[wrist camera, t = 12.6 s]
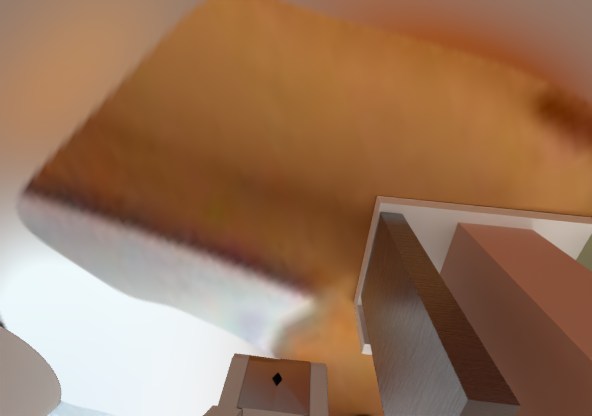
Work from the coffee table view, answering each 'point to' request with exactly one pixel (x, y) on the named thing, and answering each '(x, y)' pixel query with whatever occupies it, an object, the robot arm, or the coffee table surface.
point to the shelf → (442, 224)
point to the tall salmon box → (527, 314)
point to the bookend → (424, 335)
